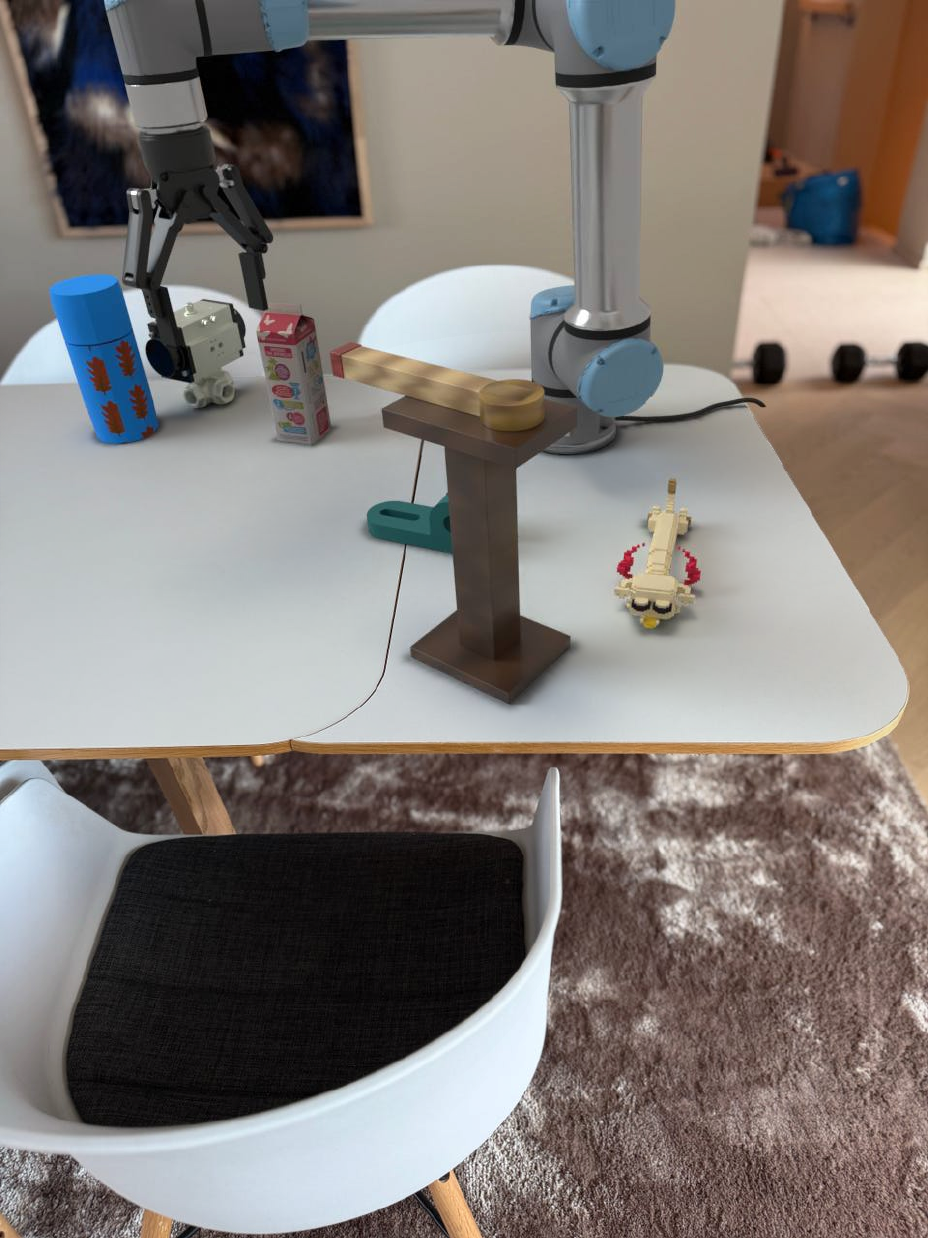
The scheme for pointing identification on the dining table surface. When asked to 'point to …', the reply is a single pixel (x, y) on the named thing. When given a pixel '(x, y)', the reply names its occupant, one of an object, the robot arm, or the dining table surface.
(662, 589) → the cream toy animal figure
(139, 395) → the thermos
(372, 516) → the bracket
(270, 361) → the juice carton
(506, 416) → the pointer
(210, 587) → the dining table surface
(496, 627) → the stand
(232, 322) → the ball valve
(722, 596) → the dining table surface
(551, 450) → the robot arm
